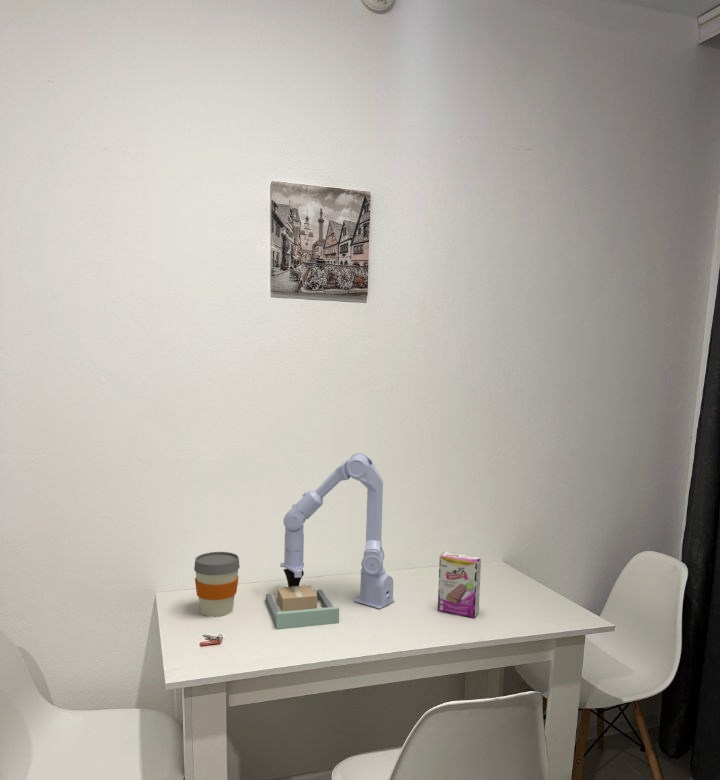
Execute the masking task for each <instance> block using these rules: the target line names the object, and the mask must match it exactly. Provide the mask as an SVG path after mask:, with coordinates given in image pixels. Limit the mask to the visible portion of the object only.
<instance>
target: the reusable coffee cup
mask: <svg viewBox="0 0 720 780" xmlns="http://www.w3.org/2000/svg"><path fill="white" fill-rule="evenodd" d="M194 560H195V561H194V566H193V567H194V568H193V569H194V572H195V578H194V583H195V591H196V596H197V597H198V603H199V612H200V614H201V615H203V616H204V617H205V616H206V617H209V616H213V617H214V618H217V617H223V616H226V615H228V614H231V613H232V612H233V608H234V601H235V596H236V594H237V590H238V586H239V585H238V584H239V574H238V573H239V569H240V557H239V556H238V554H236V553H233V552H229V551H228V552H227V551H212V552H211V551H210V552H206V553H202V554H200V555H197V556H196V557H195V558H194ZM216 616H217V617H216ZM213 617H212V618H213Z"/></svg>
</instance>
